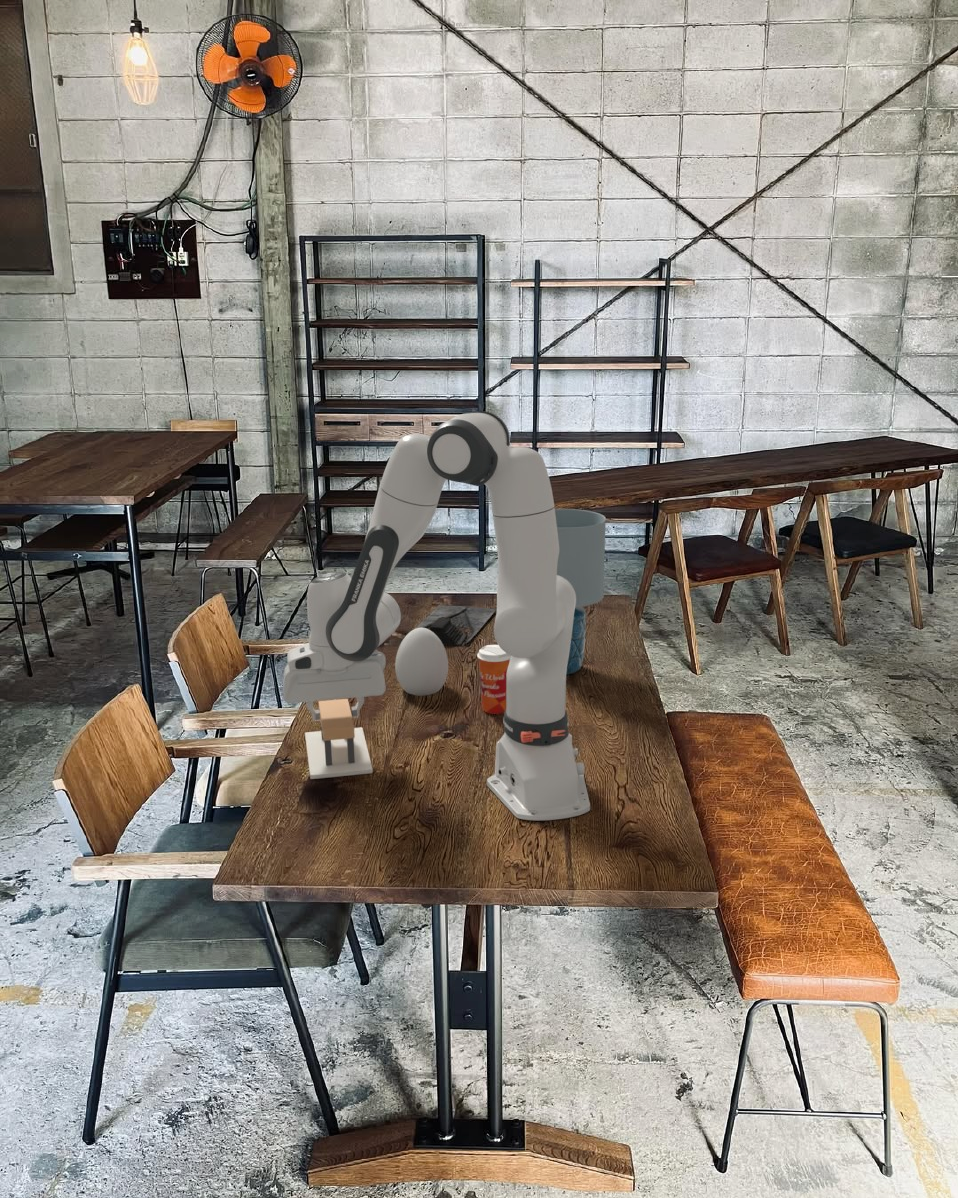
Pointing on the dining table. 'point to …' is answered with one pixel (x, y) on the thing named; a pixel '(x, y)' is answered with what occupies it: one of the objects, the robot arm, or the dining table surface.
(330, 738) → the bench model
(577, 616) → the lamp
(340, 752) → the felt mat
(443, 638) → the architectural model
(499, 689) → the paper cup
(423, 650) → the decorative egg
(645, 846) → the dining table surface
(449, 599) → the dining table surface
